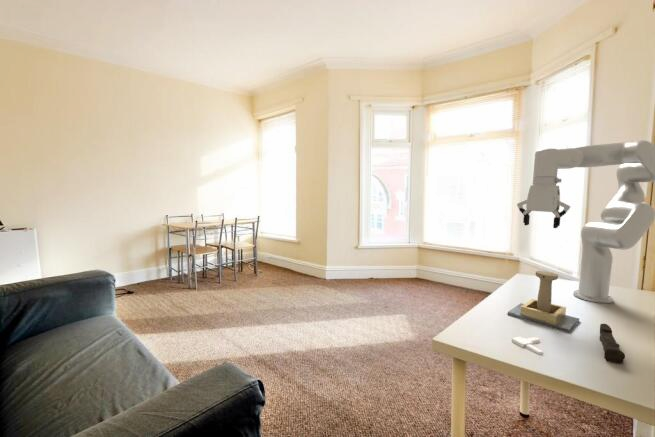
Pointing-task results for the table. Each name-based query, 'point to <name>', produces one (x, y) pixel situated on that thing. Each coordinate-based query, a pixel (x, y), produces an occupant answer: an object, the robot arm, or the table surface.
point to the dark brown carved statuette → (610, 345)
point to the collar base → (545, 316)
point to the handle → (545, 290)
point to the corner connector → (528, 343)
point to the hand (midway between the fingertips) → (540, 226)
